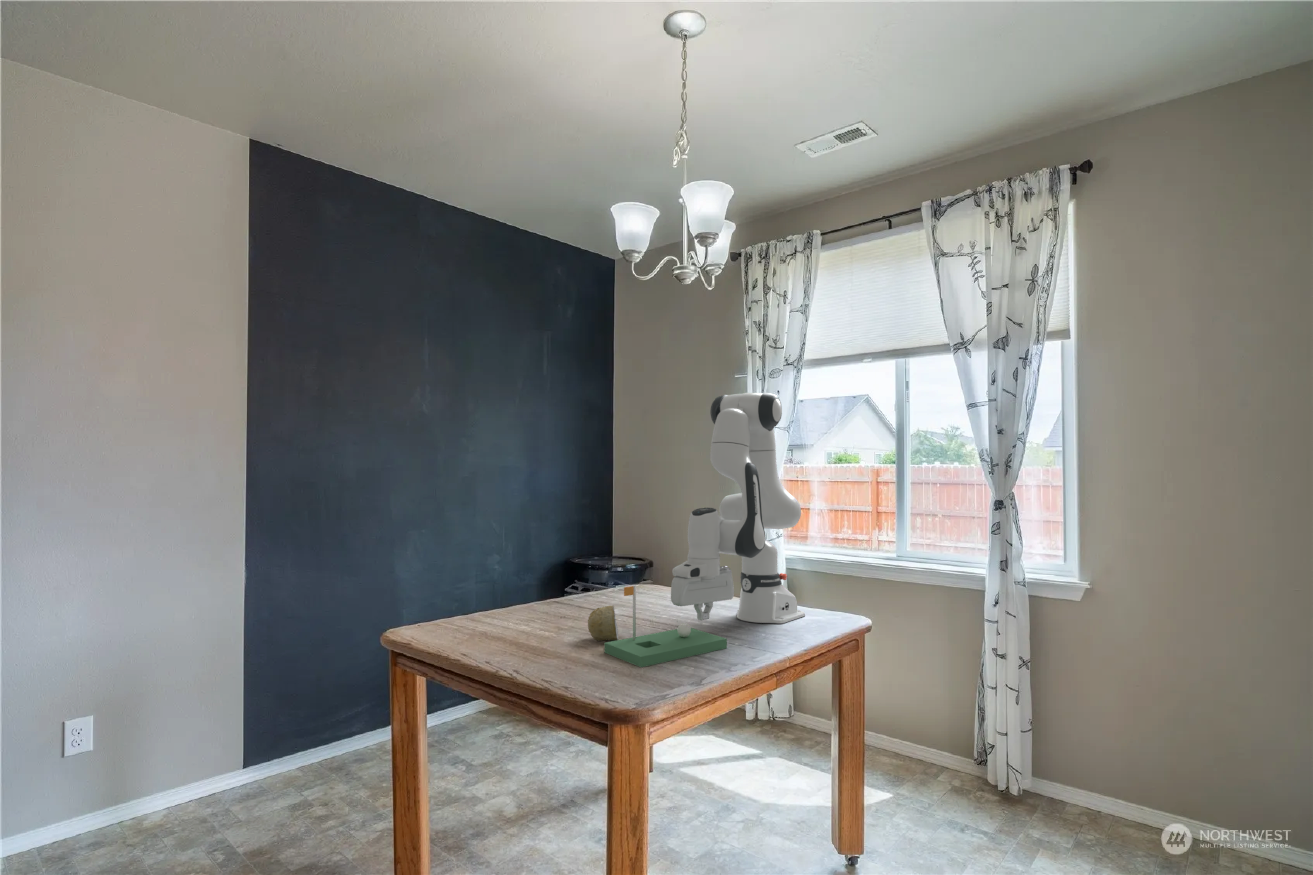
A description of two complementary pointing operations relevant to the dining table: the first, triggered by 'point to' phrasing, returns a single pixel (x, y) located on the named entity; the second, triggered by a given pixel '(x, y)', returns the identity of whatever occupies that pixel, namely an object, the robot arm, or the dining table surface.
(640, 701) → the dining table surface
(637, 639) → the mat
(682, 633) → the ball
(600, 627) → the coral
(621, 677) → the dining table surface
